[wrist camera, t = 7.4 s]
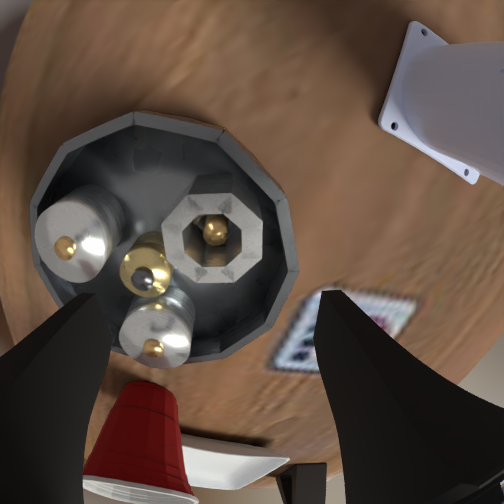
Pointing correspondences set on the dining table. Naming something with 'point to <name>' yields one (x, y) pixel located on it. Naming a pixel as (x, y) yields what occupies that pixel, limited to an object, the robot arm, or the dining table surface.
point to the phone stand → (303, 484)
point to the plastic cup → (140, 450)
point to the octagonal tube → (191, 236)
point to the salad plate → (226, 462)
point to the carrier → (157, 238)
